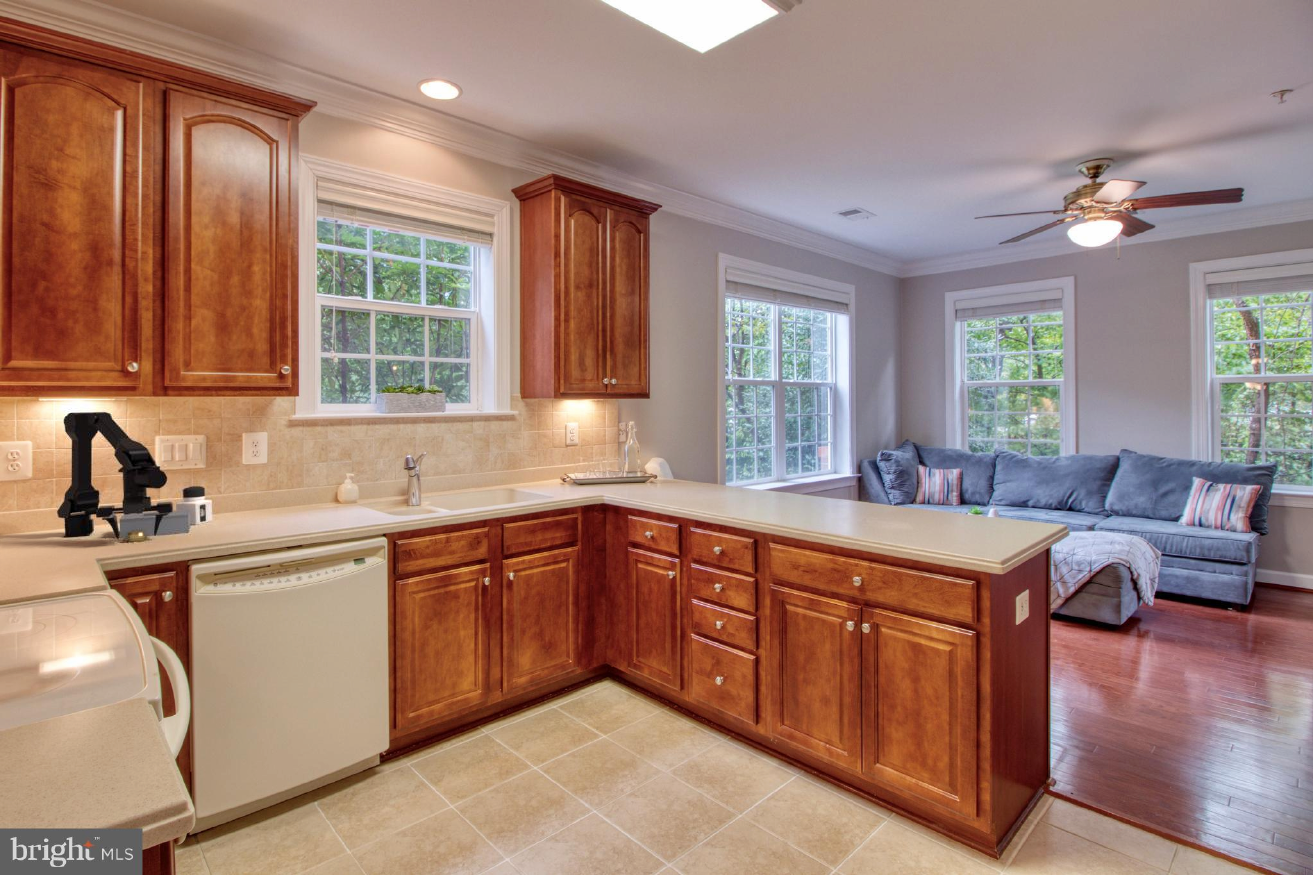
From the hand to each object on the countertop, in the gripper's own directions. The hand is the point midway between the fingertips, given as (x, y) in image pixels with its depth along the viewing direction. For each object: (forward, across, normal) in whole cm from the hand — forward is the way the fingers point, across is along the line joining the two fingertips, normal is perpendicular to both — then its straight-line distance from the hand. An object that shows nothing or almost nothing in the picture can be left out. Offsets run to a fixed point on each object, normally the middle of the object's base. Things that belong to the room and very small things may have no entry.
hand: (136, 537), depth 214 cm
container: (+2, +14, +28) cm, 31 cm away
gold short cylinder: (+1, 0, 0) cm, 1 cm away
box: (+1, +4, +14) cm, 15 cm away
